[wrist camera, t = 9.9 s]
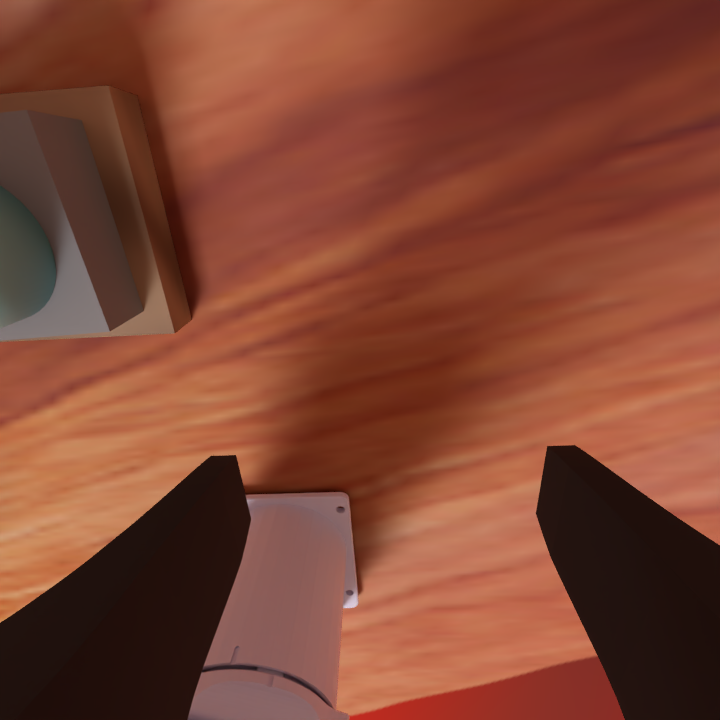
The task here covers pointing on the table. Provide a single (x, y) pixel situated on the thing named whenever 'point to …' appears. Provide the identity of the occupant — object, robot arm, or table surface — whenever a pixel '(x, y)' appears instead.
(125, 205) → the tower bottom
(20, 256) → the teal domed cylinder
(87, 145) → the tower top
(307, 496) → the robot arm
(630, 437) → the table surface
